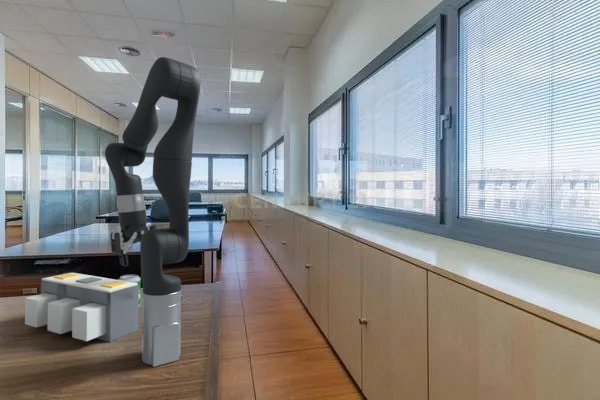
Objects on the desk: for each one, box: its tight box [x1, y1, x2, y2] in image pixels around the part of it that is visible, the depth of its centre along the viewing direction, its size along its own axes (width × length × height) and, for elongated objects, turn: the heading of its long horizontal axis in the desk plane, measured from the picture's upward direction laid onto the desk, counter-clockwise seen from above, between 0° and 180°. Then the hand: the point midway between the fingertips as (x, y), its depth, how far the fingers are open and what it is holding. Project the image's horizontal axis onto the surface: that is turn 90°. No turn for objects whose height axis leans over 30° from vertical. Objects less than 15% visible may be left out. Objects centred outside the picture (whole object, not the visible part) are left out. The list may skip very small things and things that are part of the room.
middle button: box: [47, 297, 81, 335], centre depth 102 cm, size 9×6×8 cm, turn 157°
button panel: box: [40, 272, 139, 343], centre depth 107 cm, size 10×32×15 cm, turn 67°
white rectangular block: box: [24, 293, 58, 328], centre depth 106 cm, size 9×6×8 cm, turn 157°
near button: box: [71, 302, 107, 342], centre depth 97 cm, size 9×6×8 cm, turn 157°
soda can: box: [117, 274, 142, 308], centre depth 123 cm, size 8×8×12 cm
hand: (138, 262), depth 104 cm, fingers open, 8 cm apart
